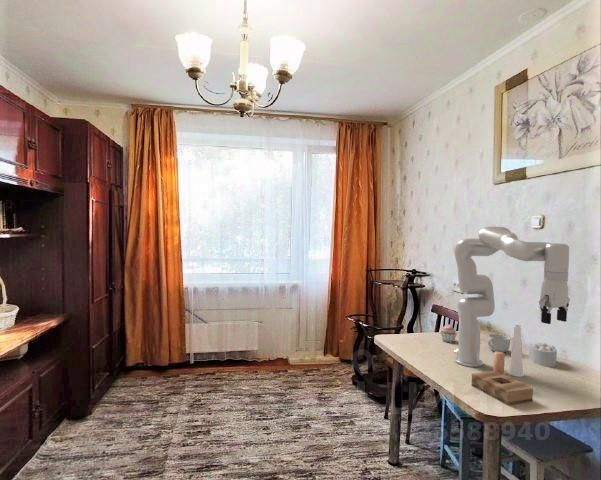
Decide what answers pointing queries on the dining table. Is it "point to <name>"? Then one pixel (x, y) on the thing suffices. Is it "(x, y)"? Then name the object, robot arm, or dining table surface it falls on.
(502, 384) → the socket board
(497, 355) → the peg
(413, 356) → the dining table surface
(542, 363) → the lumpy-topped squat cylinder
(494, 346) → the teacup
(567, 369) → the dining table surface
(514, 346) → the cosmetic bottle
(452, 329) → the cupcake
